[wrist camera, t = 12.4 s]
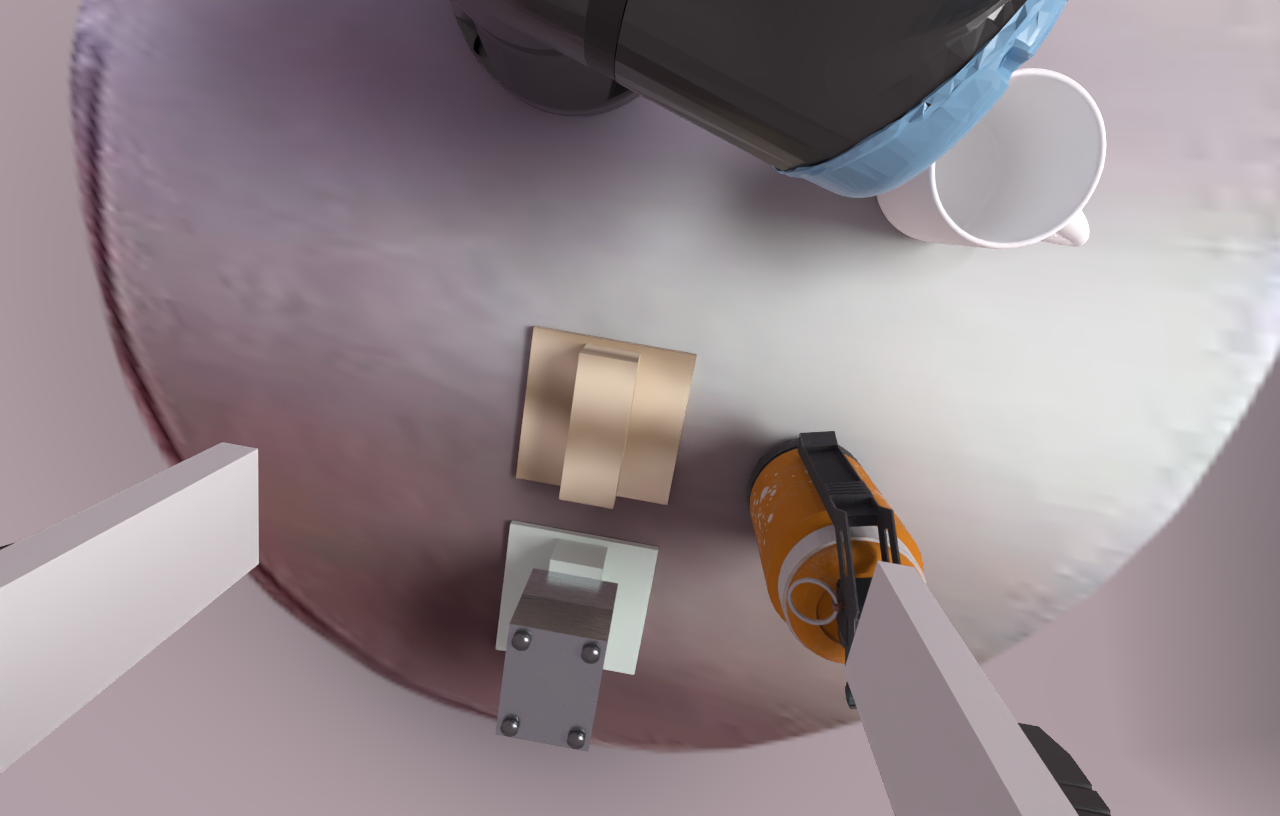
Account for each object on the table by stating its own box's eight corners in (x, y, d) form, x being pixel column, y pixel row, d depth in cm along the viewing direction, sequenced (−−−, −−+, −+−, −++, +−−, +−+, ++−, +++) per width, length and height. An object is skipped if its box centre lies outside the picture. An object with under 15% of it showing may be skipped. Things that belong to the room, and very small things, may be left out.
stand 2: (512, 520, 52) (498, 544, 48) (658, 546, 52) (656, 572, 48) (497, 644, 56) (483, 676, 52) (634, 670, 55) (630, 703, 52)
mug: (981, 295, 45) (1069, 317, 35) (844, 193, 44) (894, 185, 33) (1072, 186, 43) (1196, 177, 32) (931, 76, 41) (1013, 29, 31)
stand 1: (535, 325, 48) (522, 335, 44) (696, 354, 47) (697, 366, 44) (517, 474, 51) (504, 495, 47) (667, 501, 51) (666, 525, 47)
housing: (533, 568, 49) (507, 627, 42) (618, 583, 49) (607, 645, 42) (520, 666, 51) (493, 738, 44) (600, 681, 51) (587, 756, 44)
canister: (748, 545, 51) (787, 739, 32) (743, 412, 48) (782, 539, 29) (864, 540, 51) (973, 735, 32) (865, 405, 48) (988, 530, 28)
